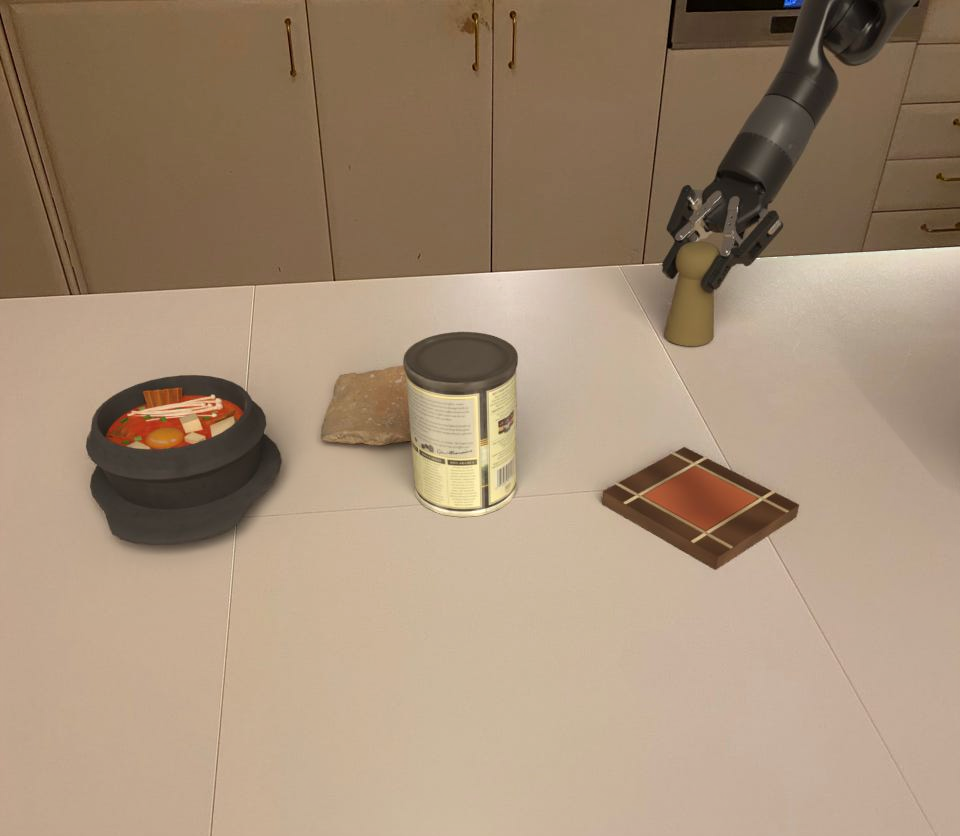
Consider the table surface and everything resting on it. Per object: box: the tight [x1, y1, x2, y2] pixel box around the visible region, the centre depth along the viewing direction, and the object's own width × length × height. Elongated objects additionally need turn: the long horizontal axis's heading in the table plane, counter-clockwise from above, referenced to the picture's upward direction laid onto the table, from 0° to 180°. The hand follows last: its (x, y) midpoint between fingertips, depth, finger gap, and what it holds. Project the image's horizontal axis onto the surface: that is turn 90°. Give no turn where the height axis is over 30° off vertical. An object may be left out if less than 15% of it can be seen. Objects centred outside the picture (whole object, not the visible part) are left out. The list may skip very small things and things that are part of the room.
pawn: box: [663, 240, 721, 347], centre depth 118 cm, size 6×6×11 cm
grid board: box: [601, 446, 800, 571], centre depth 94 cm, size 12×14×2 cm
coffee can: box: [402, 331, 519, 518], centre depth 93 cm, size 10×10×14 cm
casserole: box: [85, 374, 283, 546], centre depth 96 cm, size 25×19×8 cm
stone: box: [320, 364, 411, 446], centre depth 107 cm, size 11×16×3 cm
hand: (685, 281), depth 116 cm, fingers closed on pawn, 5 cm apart
